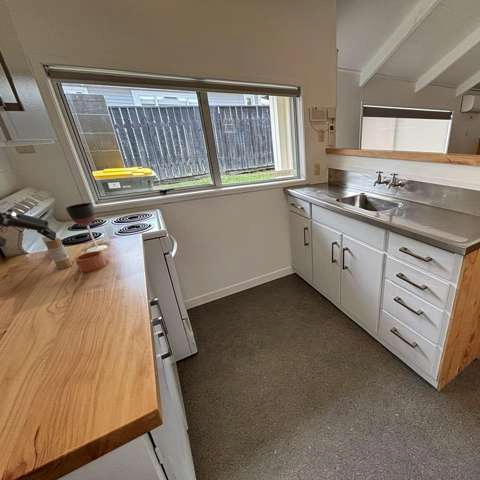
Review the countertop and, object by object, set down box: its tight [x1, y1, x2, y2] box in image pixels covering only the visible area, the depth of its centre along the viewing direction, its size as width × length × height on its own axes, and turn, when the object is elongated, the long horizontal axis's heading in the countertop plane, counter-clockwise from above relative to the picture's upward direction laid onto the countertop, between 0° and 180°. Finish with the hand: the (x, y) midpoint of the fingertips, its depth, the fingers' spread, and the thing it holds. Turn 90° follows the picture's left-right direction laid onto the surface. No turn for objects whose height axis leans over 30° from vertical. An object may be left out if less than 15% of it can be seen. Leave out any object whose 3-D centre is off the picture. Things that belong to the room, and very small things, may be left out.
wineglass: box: [65, 202, 108, 253], centre depth 112 cm, size 8×9×20 cm
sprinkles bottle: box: [40, 232, 73, 270], centre depth 97 cm, size 5×5×14 cm
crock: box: [74, 250, 107, 273], centre depth 97 cm, size 8×8×5 cm
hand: (30, 239), depth 86 cm, fingers open, 13 cm apart
